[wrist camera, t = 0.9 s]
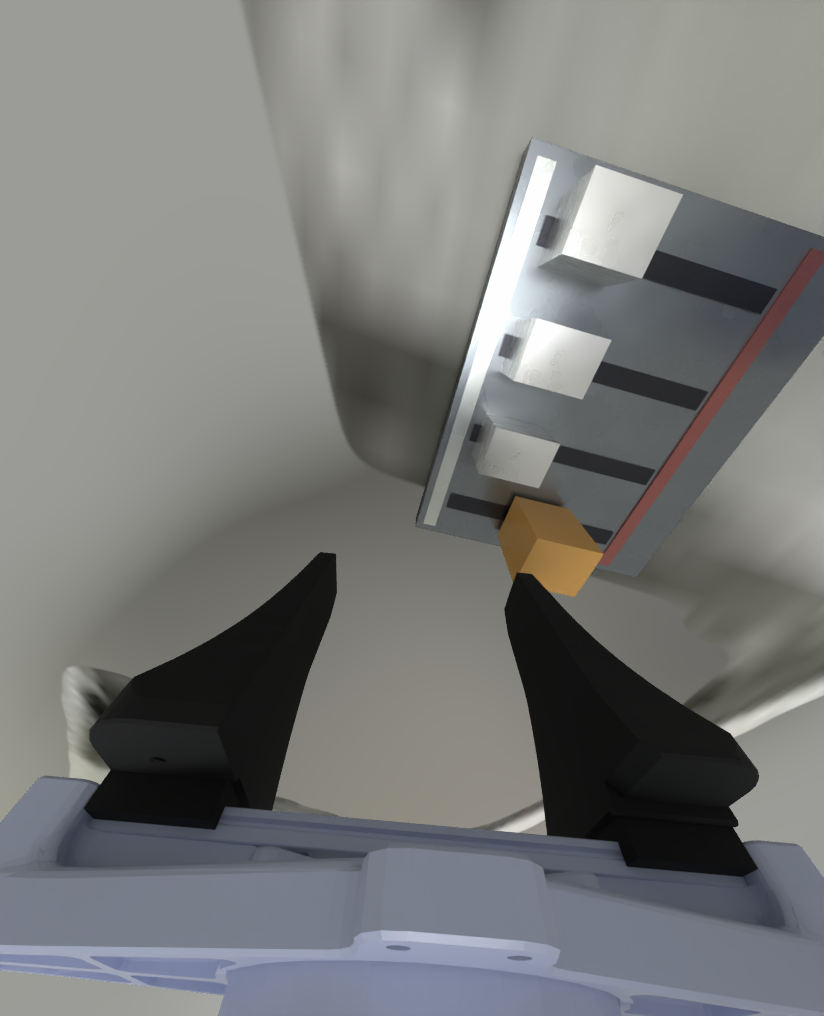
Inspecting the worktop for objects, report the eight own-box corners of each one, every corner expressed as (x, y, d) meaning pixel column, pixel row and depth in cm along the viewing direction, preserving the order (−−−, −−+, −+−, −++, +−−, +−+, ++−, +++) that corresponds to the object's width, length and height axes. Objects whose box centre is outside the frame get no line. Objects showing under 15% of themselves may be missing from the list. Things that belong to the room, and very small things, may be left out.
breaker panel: (851, 262, 15) (991, 241, 11) (626, 566, 24) (662, 609, 20) (524, 151, 14) (559, 87, 10) (416, 517, 23) (414, 554, 19)
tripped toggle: (569, 509, 20) (604, 553, 16) (547, 547, 21) (574, 596, 17) (515, 495, 20) (537, 538, 16) (497, 535, 21) (513, 583, 17)
